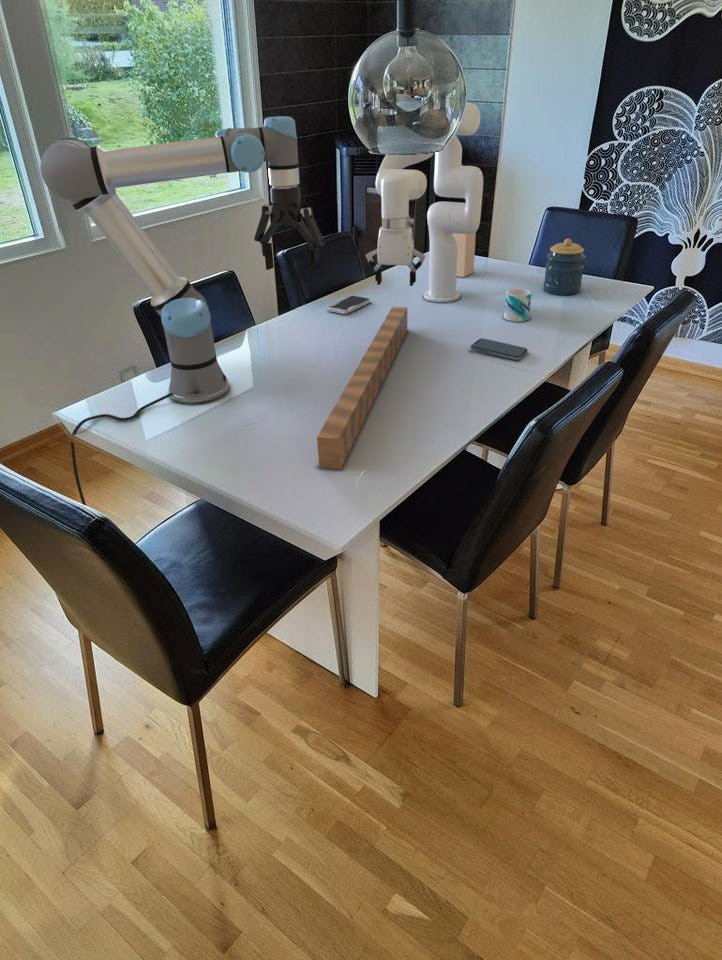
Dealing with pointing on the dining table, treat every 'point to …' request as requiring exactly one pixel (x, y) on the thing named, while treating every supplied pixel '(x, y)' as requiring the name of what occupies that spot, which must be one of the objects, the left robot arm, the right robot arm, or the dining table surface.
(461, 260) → the tan upright wooden block
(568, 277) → the canister
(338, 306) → the smartphone
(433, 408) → the dining table surface
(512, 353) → the smartphone
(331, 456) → the post
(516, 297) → the mug
